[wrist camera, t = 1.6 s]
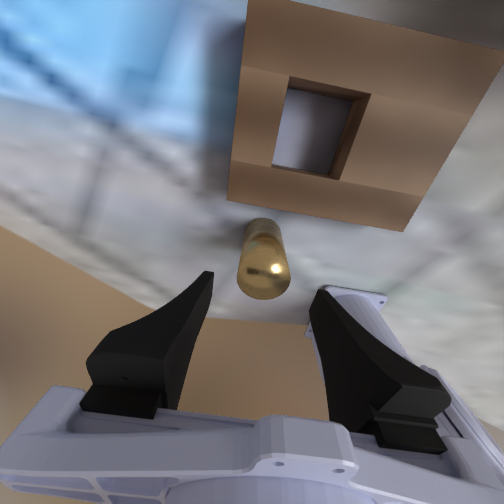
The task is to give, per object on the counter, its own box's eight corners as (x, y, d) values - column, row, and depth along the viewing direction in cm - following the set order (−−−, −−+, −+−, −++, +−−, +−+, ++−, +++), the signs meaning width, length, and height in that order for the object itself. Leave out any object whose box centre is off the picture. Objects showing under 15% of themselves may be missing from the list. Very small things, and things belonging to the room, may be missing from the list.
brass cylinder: (276, 253, 23) (283, 303, 16) (242, 247, 23) (233, 295, 16) (284, 221, 21) (297, 261, 14) (247, 214, 21) (241, 252, 14)
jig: (384, 220, 20) (402, 232, 18) (230, 192, 20) (226, 200, 17) (465, 68, 15) (509, 52, 12) (251, 19, 14) (249, -10, 11)
